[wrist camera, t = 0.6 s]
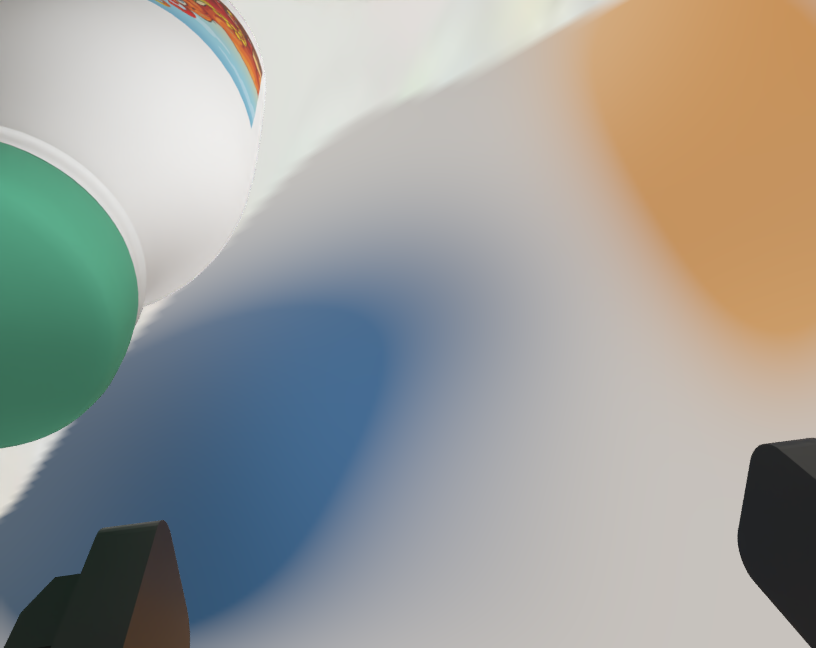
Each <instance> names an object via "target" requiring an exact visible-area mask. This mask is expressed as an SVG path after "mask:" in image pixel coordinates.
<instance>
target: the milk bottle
mask: <svg viewBox="0 0 816 648" xmlns="http://www.w3.org/2000/svg"><path fill="white" fill-rule="evenodd" d="M265 99H266V78H265V69H264V64H263V59H262V55H261V52H260V49H259V46H258V44H257V41H256V39H255V37H254V35H253V33H252V31H251V29H250V27H249V25H248V24H247V22H246V21H245V19H244V18H243V16H242V15H241V14H240V12H239V11H238V10H237V9H236V7H235V6H234V5H233V4H232V3H231V2H230V1H229V0H0V448H6V447H11V446H17V445H21V444H25V443H28V442H32V441H35V440H38V439H40V438H43V437H46V436H48V435H50V434H52V433H54V432H57V431H58V430H60V429H62V428H64V427H65V426H67V425H69V424H70V423H71V422H73V421H74V420H76V419H77V418H78V417H80V416H81V415H82V414H83V413H84V412H85V411H86V410H87V409H89V408H90V407H91V406H92V405H93V404H94V403H95V402H96V401H97V400H98V399H99V398H100V397H101V395H102V394H103V393H104V392H105V390H106V389H107V388H108V386H109V385H110V383H111V382H112V380H113V378H114V376H115V374H116V372H117V371H118V369H119V367H120V365H121V362H122V360H123V358H124V356H125V354H126V352H127V349H128V346H129V344H130V340H131V337H132V334H133V330H134V327H135V325H136V323H137V321H138V319H139V317H140V314H141V312H142V309H143V307H144V306H147V305H150V304H153V303H155V302H157V301H159V300H162V299H164V298H166V297H167V296H169V295H171V294H172V293H174V292H176V291H177V290H179V289H181V288H182V287H184V286H185V285H187V284H188V283H189V282H191V281H192V280H193V279H195V278H196V277H197V276H198V275H199V274H200V273H201V272H202V271H204V270H205V269H206V268H207V267H208V266H209V265H210V264H211V263H212V261H213V260H214V259H215V258H216V257H217V256H218V255H219V254H220V252H221V251H222V249H223V248H224V247H225V245H226V244H227V242H228V241H229V239H230V237H231V236H232V234H233V232H234V230H235V229H236V227H237V225H238V223H239V221H240V219H241V217H242V215H243V212H244V210H245V207H246V204H247V200H248V197H249V194H250V190H251V186H252V183H253V179H254V175H255V170H256V165H257V159H258V152H259V146H260V140H261V133H262V126H263V118H264V109H265Z"/></svg>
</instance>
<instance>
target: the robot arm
mask: <svg viewBox="0 0 816 648" xmlns="http://www.w3.org/2000/svg"><path fill="white" fill-rule="evenodd" d="M738 547H739V552H740V555H741V559H742V561H743V564H744V566H745V568H746V570H747V572H748V574H749V575H750V577H751V578H752V579H753V581H754V582H755V583H756V584H757V585H758V587H759V588H760V589H761V590H762V591H763V592H764V594H765V595H766V596H767V597H768V598H769V599H770V600H771V602H772V603H773V604H774V605H775V606H776V607H777V609H778V610H779V611H780V612H781V613H782V614H783V615H784V616H785V618H786V619H787V620H788V621H789V622H790V624H791V625H792V626H793V627H794V628H795V629H796V630H797V632H798V633H799V634H800V635H801V636H802V637H803V638H804V640H805V641H806V642H807V643H808V644H809V646H810V647H811V648H816V438H806V439H800V440H791V441H783V442H776V443H768V444H762V445H759V446H758V447H757V448H756V449H755V451H754V452H753V454H752V456H751V460H750V465H749V471H748V477H747V483H746V488H745V494H744V500H743V505H742V511H741V517H740V523H739V528H738ZM4 648H190V629H189V618H188V612H187V607H186V602H185V598H184V593H183V589H182V584H181V579H180V574H179V570H178V565H177V560H176V556H175V551H174V547H173V542H172V537H171V533H170V530H169V527H168V525H167V523H166V522H165V521H164V520H161V521H153V522H145V523H137V524H130V525H122V526H114V527H107V528H102V529H100V531H99V532H98V533H97V535H96V537H95V540H94V542H93V545H92V547H91V550H90V552H89V555H88V557H87V560H86V562H85V565H84V567H83V569H82V572H81V574H75V575H68V576H61V577H55V578H54V579H53V580H52V581H51V582H50V583H49V584H48V585H47V586H46V587H45V588H44V589H43V590H42V591H41V592H40V593H39V594H38V595H37V597H36V598H35V599H34V600H33V601H32V602H31V603H30V604H29V605H28V606H27V607H26V608H25V609H24V610H23V611H22V612H21V614H20V615H19V617H18V619H17V622H16V624H15V626H14V628H13V630H12V632H11V634H10V636H9V638H8V640H7V642H6V644H5V646H4Z"/></svg>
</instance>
